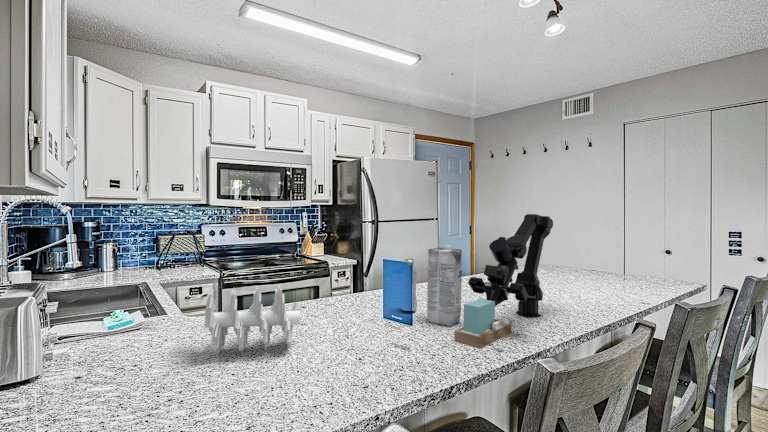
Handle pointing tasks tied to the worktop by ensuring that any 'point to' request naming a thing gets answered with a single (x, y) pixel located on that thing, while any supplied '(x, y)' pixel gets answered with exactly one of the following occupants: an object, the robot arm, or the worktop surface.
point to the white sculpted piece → (250, 319)
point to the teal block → (479, 315)
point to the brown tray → (485, 334)
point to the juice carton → (444, 285)
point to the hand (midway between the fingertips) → (487, 310)
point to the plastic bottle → (414, 284)
